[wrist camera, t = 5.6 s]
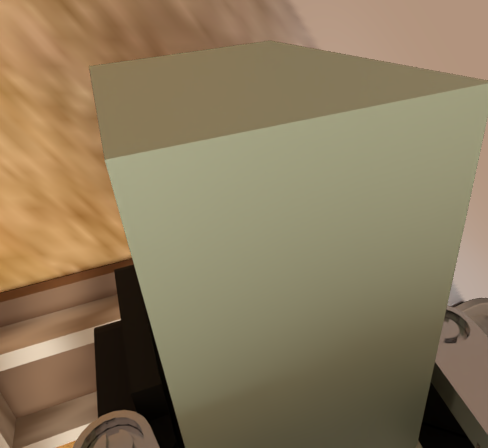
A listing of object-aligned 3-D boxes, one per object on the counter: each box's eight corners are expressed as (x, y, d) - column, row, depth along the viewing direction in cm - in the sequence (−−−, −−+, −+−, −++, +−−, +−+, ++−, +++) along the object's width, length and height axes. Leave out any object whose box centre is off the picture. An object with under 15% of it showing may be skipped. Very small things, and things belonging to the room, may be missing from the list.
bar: (270, 40, 9) (495, 81, 4) (288, 386, 15) (389, 571, 10) (88, 66, 8) (105, 160, 3) (184, 426, 14) (242, 651, 9)
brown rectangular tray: (230, 233, 29) (247, 258, 26) (243, 356, 36) (258, 388, 33) (-90, 316, 24) (-112, 360, 21) (-5, 444, 30) (-12, 490, 28)
